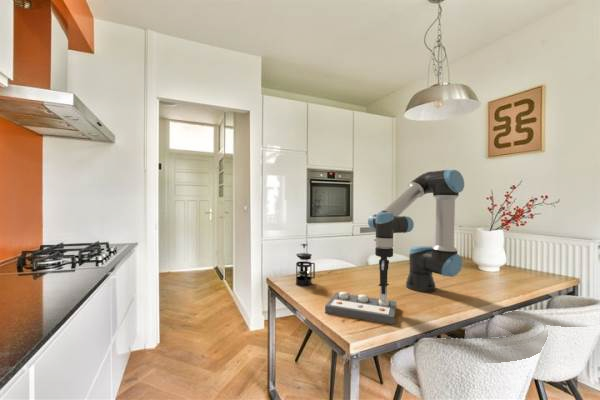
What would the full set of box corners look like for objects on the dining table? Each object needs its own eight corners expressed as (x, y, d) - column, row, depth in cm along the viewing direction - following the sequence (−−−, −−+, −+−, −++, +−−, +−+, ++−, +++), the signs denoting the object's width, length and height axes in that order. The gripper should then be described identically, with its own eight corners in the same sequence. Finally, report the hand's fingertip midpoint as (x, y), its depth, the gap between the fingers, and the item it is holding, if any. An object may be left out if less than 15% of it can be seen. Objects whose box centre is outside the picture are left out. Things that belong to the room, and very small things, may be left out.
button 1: (349, 299, 128) (349, 292, 128) (347, 302, 124) (347, 295, 124) (340, 297, 130) (340, 291, 130) (337, 300, 125) (337, 294, 125)
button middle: (368, 302, 124) (368, 295, 124) (367, 305, 120) (367, 298, 120) (359, 300, 126) (359, 293, 126) (357, 303, 122) (357, 296, 122)
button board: (396, 307, 122) (396, 300, 122) (393, 324, 106) (393, 315, 106) (336, 298, 133) (336, 291, 133) (325, 312, 117) (325, 304, 117)
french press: (296, 287, 151) (297, 245, 151) (292, 282, 160) (293, 243, 160) (316, 285, 154) (317, 245, 154) (311, 280, 163) (312, 242, 163)
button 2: (389, 307, 121) (389, 299, 121) (388, 310, 117) (388, 303, 117) (379, 305, 123) (379, 298, 123) (377, 309, 119) (378, 301, 119)
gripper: (377, 244, 127) (376, 294, 127) (373, 248, 115) (372, 304, 115) (394, 245, 124) (393, 296, 124) (392, 250, 112) (391, 307, 112)
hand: (383, 300), depth 120 cm, fingers closed
